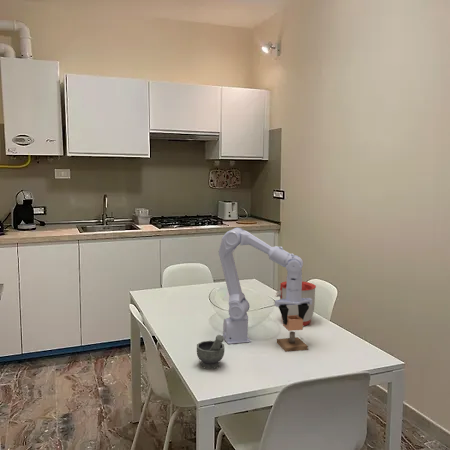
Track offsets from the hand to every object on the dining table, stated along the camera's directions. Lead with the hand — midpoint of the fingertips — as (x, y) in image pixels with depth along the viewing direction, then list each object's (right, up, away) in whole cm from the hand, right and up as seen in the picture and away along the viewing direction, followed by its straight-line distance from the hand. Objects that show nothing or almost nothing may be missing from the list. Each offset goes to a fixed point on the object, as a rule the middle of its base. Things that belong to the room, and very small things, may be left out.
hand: (292, 323), depth 174 cm
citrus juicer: (+5, -6, +28) cm, 29 cm away
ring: (0, -2, 0) cm, 2 cm away
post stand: (0, -9, +1) cm, 9 cm away
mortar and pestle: (-30, -11, -17) cm, 37 cm away
